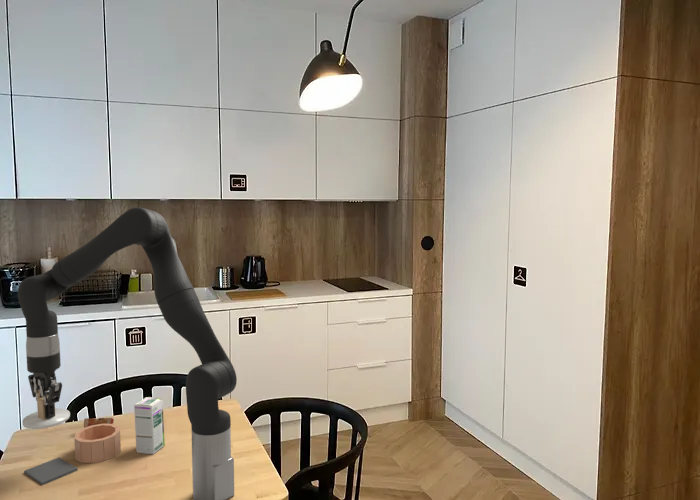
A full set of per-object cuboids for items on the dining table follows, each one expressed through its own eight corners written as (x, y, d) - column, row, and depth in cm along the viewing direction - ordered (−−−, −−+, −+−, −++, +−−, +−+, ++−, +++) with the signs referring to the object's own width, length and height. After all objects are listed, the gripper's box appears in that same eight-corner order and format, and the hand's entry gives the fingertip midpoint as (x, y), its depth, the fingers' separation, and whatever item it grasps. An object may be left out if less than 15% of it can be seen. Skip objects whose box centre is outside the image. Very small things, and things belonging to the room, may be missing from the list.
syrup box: (154, 454, 150) (152, 405, 148) (135, 452, 151) (133, 403, 149) (165, 445, 155) (163, 398, 154) (146, 443, 156) (145, 396, 155)
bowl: (128, 450, 152) (128, 430, 151) (89, 467, 143) (88, 445, 142) (106, 439, 159) (105, 420, 158) (67, 454, 149) (66, 434, 149)
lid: (78, 417, 139) (77, 396, 139) (34, 432, 131) (33, 409, 130) (57, 408, 146) (56, 387, 145) (15, 421, 137) (13, 399, 136)
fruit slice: (80, 438, 160) (79, 422, 159) (90, 428, 166) (89, 413, 166) (108, 437, 160) (107, 422, 159) (117, 428, 167) (116, 412, 166)
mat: (77, 470, 141) (77, 468, 141) (42, 485, 133) (42, 482, 133) (59, 459, 147) (59, 457, 146) (24, 472, 139) (24, 470, 139)
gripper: (71, 352, 135) (74, 417, 137) (45, 343, 143) (48, 405, 145) (40, 360, 129) (44, 427, 131) (15, 350, 137) (18, 414, 139)
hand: (46, 415), depth 138 cm, fingers closed on lid, 3 cm apart
